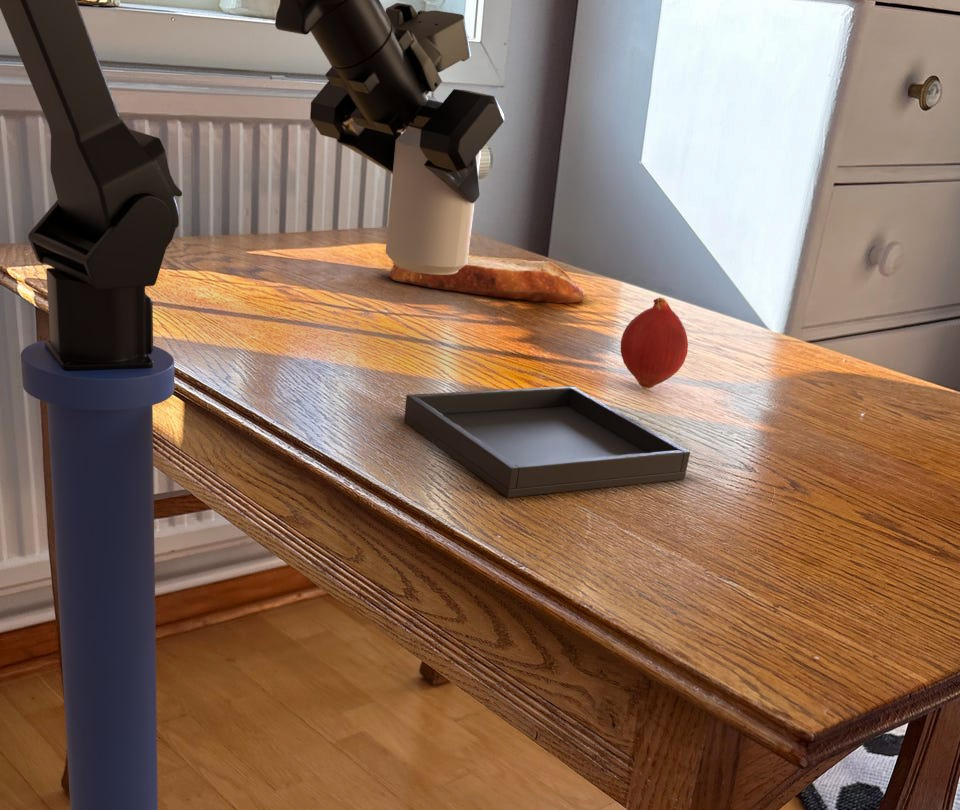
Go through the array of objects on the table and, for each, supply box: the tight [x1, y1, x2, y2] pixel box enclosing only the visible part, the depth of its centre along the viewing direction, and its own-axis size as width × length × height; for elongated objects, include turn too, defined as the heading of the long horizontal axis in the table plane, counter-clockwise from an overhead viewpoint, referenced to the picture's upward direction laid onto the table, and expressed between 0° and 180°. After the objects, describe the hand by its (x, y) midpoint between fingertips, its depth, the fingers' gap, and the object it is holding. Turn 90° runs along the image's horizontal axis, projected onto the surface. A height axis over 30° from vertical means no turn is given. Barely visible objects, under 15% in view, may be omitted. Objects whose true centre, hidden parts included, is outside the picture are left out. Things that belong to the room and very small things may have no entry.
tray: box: [403, 385, 691, 499], centre depth 86 cm, size 15×15×2 cm
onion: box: [620, 296, 689, 390], centre depth 103 cm, size 6×6×8 cm
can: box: [385, 126, 482, 275], centre depth 103 cm, size 8×8×12 cm
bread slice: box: [388, 256, 586, 304], centre depth 131 cm, size 18×18×4 cm
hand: (445, 190), depth 104 cm, fingers closed on can, 7 cm apart
